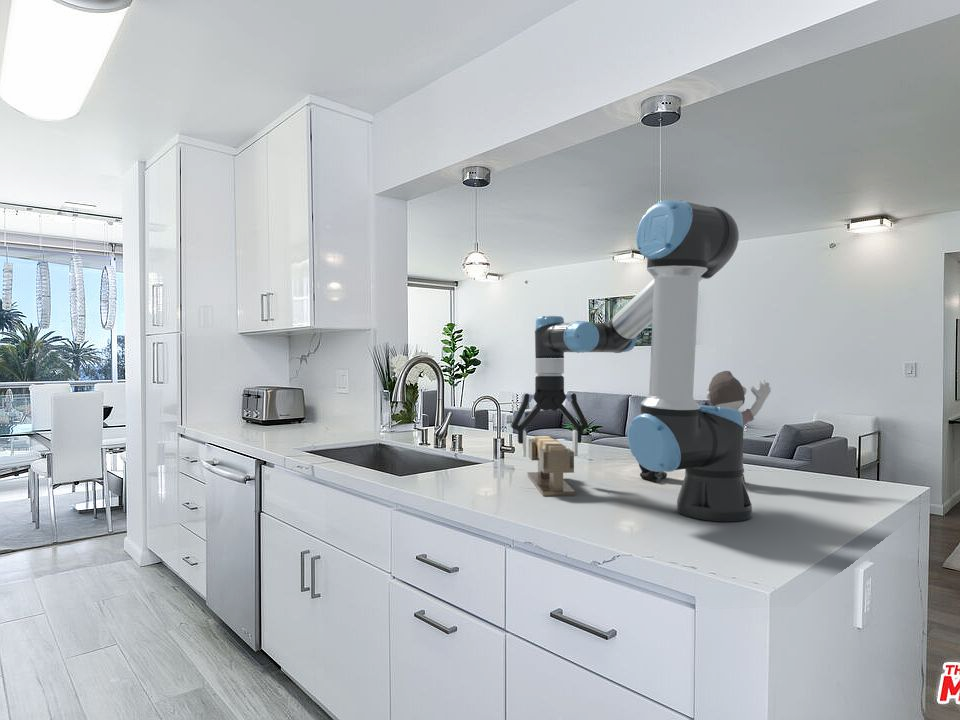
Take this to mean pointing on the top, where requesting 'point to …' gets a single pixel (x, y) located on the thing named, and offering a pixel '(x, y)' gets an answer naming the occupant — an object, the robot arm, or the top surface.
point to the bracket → (551, 471)
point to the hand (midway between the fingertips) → (549, 455)
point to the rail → (548, 445)
